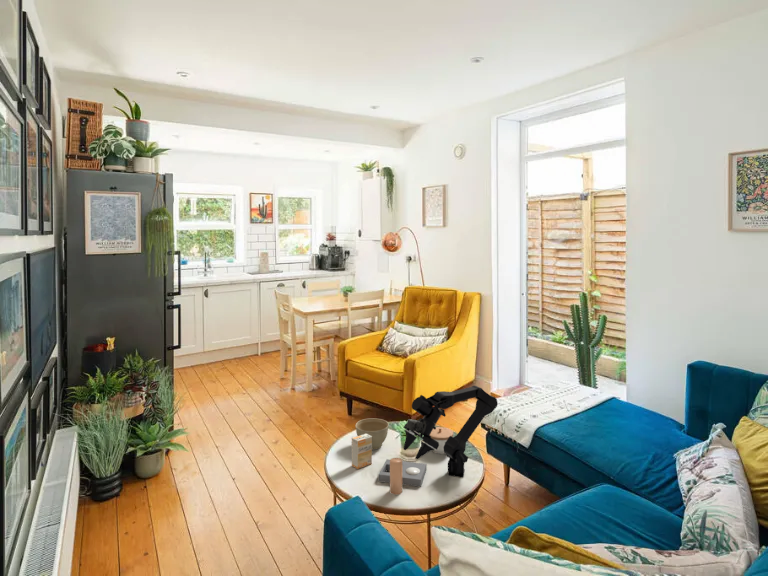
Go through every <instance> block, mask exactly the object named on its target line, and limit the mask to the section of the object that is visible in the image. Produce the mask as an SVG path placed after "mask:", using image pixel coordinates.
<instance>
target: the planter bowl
mask: <svg viewBox="0 0 768 576" xmlns="http://www.w3.org/2000/svg"><path fill="white" fill-rule="evenodd" d="M355 431H356V437H357V436H360V435H363V434H368V435H370V436H372V450H377V449H380V448H382V446H383V443H384V442H385V440H386V438H387V435H388V433H389V422H388V421H387V420H384V419H382V418H376V417H375V418H373V417H372V418H364V419H361V420H358V421H357V422H356V423H355Z"/></svg>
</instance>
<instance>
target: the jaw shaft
mask: <svg viewBox="0 0 768 576" xmlns="http://www.w3.org/2000/svg"><path fill="white" fill-rule="evenodd" d="M389 460H390V471H389V473H390V483H389V493H390V494H391V495H395V496H398V495H401V494H402V493H403V484H402V461H403V459H402V458H401V457H392V458H390V459H389Z"/></svg>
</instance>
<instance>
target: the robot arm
mask: <svg viewBox="0 0 768 576" xmlns="http://www.w3.org/2000/svg"><path fill="white" fill-rule="evenodd" d="M470 399H476V402H475V409H474V410H473V412H472V413H471V415H470V416H469V417H468V418H467V420H466V422H465V423H464V424H463V426H462V427H461V428H460V430H459V431H458V433H457V434H456V435H455V436H453V437H452V436H450V437H449V438H448V440H447V441H446V442H445V445H444V447H443V448H444V452H445V453H444V454H445V455H446V457H447V458H449V460H447V461H448V462H447V473H448V476H451V477H460V478H464V477H465V470H466V469H465V464H466V463H467V462H468V459H469V457H468V455H466V454H465V452H466V446H467V442H468V441H469V440H470V438H471V436H472V435H473V433H474V432H475V431H476V429H477V428H478V426H479V425H480V424H481V422H482V421H483V419H484V418H485V417H486V416H487V415H488V416H489V415H490V414H492V413H493V411H494V410H495V409H496V408H497V407H498V399H497V398H496V397H495V396H492V395H490V394H489V393H488V392H486V391H485V390H484V389H483V388H482V387H480V386H478V385H472V386H470V387H466V388H461V389H458V390H457V389H456V390H455V391H436V392H434V394H432V395H431V396H428V397H426V396H424V395H422V394H420V395H419V396H418V397H416V398H415V399H413V401H412V404H411V409H412V410H413V411H415V412H416V413H418V414H420V415H421V416H423V418H422V417H420V418H419V419H418V420H416V419H412V418H411V419H410V418H409V419H407V421H406V423H405V424H404V425H403V429H404V430H403V431H404V432H405V439H404V445H403V447H402V448H403V450H404V451H407V450H408V449H409V448H410V447H411V445H413V443H414V442H415V441H416V440H417V438H418V437H419V438H421V439H422V440H420V447H419V449H418V451H417V453H416V455H415V459H416V460H419V459H420V458H422V457H423V456H425V455H426V454H428V453H430V452H431V451H433V450H434V449H433V448H435V449H436V450H437V448H438V446H439V442H437V441H435V440H434V439H432V438H431V436H430V433H431V432H432V430H433V429H436V427H437V426H436V425H437V423H438V421H439V419H440V418H441V416H442V417H446V413H445V410H448V409H450V408H451V407H453V406H454V405H455V404H456V403H459V402H463V401H466V400H470ZM416 436H418V437H416Z"/></svg>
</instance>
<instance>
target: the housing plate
mask: <svg viewBox="0 0 768 576" xmlns="http://www.w3.org/2000/svg"><path fill="white" fill-rule="evenodd" d="M427 466H428V465H427V463H421V462H415V461H412V462H411V461H404V460H402V485H405V486H413V487H420V488H421V487H422V484H423V481H424V478H425V476H426V474H427V471H428V469H427V468H428V467H427ZM378 482H382V483H389V484H390V459H388V458H386V460H385V462H384V464H383V466H382V467H381V469H380V470H379V473H378Z"/></svg>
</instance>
